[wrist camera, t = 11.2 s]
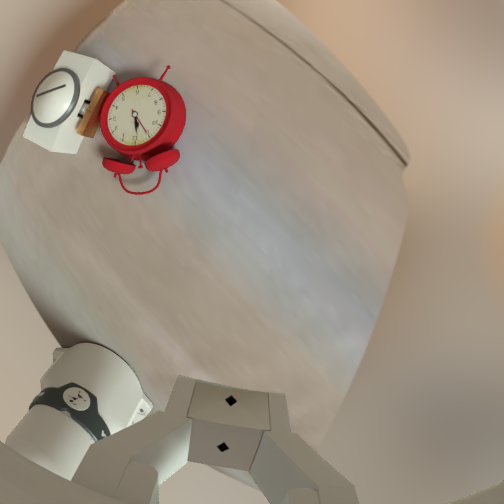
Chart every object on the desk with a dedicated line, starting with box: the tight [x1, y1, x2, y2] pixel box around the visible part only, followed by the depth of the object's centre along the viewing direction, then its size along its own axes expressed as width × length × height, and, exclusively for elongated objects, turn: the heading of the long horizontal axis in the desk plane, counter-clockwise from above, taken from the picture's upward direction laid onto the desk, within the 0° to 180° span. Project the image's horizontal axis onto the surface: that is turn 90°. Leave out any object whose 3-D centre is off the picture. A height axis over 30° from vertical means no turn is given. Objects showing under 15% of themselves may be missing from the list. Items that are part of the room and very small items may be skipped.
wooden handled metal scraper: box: [76, 88, 110, 138], centre depth 30 cm, size 6×6×3 cm
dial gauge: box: [23, 50, 116, 154], centre depth 29 cm, size 12×8×7 cm, turn 152°
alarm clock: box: [100, 65, 186, 195], centre depth 31 cm, size 10×6×15 cm
